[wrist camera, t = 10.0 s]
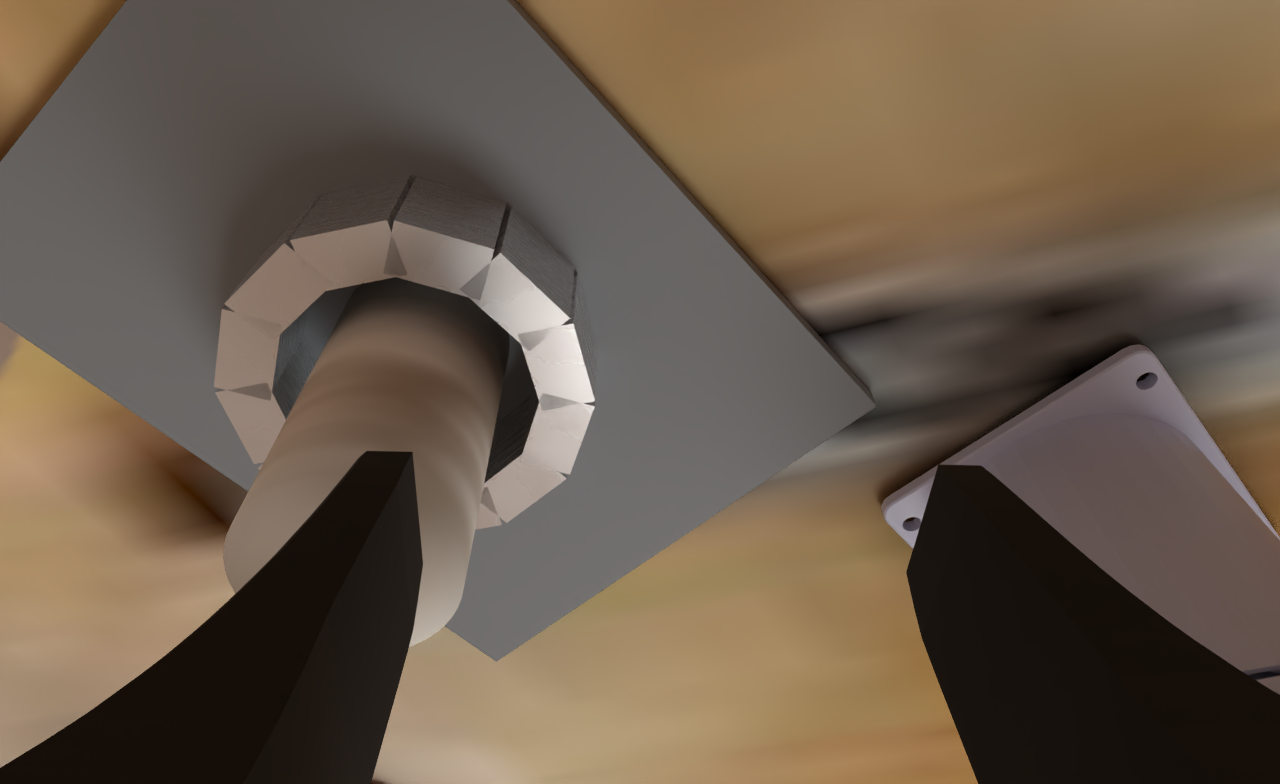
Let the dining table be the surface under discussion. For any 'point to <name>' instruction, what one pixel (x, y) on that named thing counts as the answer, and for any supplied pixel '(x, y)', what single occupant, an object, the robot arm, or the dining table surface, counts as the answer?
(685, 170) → the dining table surface
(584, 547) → the rosette plate
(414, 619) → the robot arm
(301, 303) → the ring collar
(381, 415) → the beige rounded cylinder
